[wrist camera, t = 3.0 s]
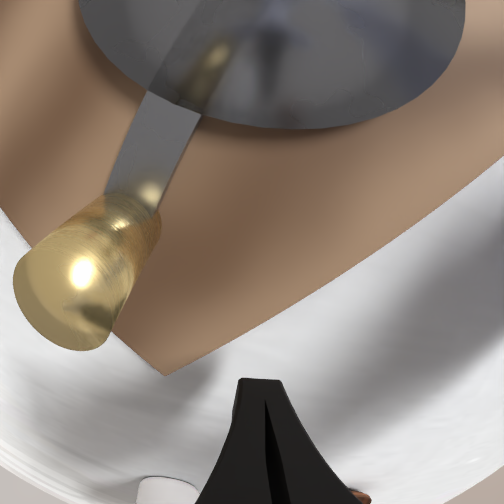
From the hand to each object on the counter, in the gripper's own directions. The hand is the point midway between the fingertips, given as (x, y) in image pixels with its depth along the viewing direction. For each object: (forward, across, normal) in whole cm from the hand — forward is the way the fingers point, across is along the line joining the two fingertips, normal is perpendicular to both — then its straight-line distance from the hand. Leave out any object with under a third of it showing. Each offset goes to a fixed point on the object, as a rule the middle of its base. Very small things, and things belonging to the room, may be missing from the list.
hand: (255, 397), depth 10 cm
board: (+3, +1, -14) cm, 15 cm away
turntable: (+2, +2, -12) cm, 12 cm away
